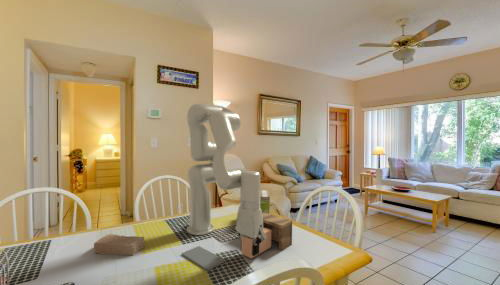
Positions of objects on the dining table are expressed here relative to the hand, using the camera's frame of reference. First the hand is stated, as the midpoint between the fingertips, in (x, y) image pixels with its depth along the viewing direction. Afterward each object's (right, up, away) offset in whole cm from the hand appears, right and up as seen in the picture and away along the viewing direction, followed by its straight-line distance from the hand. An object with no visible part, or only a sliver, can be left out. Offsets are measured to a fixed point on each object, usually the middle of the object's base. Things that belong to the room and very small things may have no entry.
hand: (249, 251), depth 90 cm
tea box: (+5, -1, +39) cm, 39 cm away
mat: (-17, -2, -2) cm, 18 cm away
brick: (-52, -2, +5) cm, 52 cm away
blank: (+3, -1, +3) cm, 4 cm away
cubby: (+7, -1, +14) cm, 16 cm away
